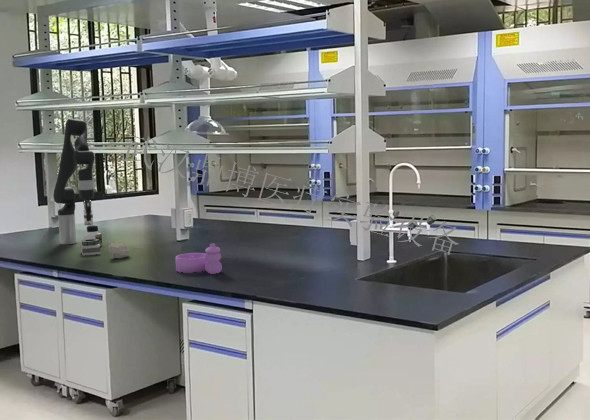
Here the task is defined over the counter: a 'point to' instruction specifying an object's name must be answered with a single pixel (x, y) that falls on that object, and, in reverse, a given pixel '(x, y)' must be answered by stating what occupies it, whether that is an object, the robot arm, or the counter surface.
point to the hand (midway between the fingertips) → (88, 220)
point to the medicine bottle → (93, 234)
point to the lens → (86, 218)
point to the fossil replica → (118, 250)
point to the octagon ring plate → (90, 247)
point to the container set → (200, 261)
